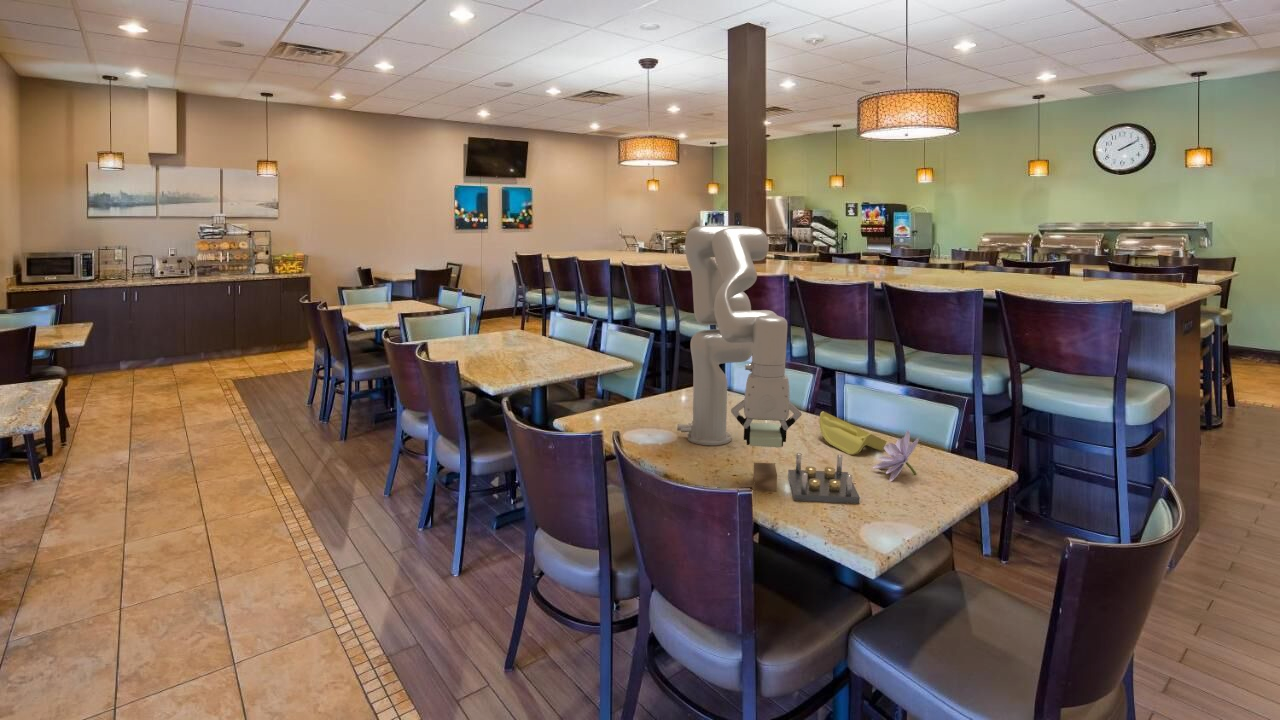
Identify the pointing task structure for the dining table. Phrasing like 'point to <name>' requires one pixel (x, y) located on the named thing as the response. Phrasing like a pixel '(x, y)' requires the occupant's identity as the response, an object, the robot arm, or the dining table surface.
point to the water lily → (898, 456)
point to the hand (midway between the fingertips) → (764, 443)
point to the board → (765, 435)
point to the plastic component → (847, 435)
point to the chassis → (822, 484)
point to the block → (765, 477)
